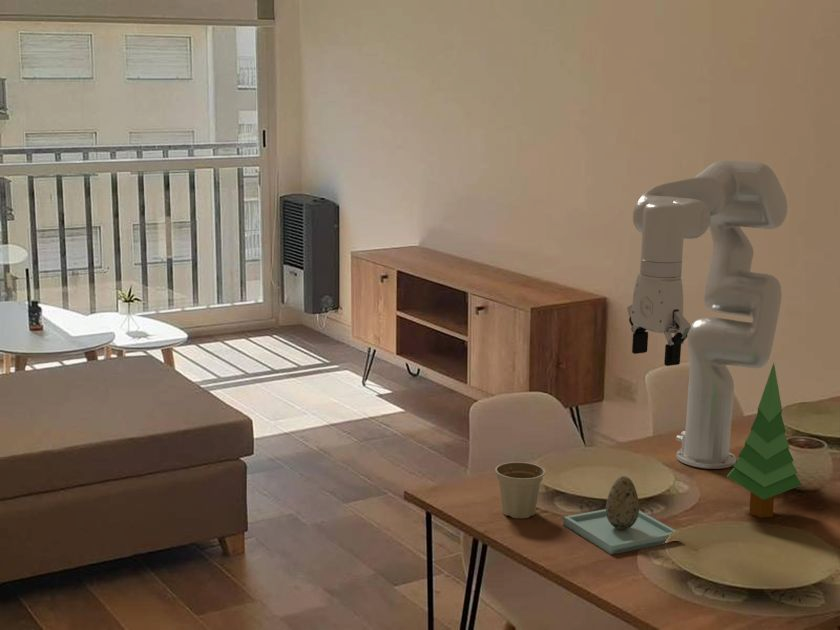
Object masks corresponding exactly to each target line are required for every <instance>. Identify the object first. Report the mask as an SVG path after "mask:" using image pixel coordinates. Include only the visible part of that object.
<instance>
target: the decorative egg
mask: <svg viewBox="0 0 840 630" xmlns="http://www.w3.org/2000/svg"><path fill="white" fill-rule="evenodd" d="M605 509H606V515H607V519H608V521H609V522H610V524H611V525H612V526H613V527H615V528H617V529H621V530H624V529H628V528H630V527H631V526H632V525H633V524H634V523H635V522H636V520H637V518H638V514H639V510H640V503H639V497H638V492H637V490H636V487H635V485H634V482H633V481H632V480H631V478H630V477H628V476H625V475H621V476H620V477H618V478H617V479H616V480H615V481H614V483H613V484H612V486H611V487H610V491H609V493H608V495H607V498H606V504H605Z"/></svg>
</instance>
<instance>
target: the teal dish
mask: <svg viewBox="0 0 840 630" xmlns="http://www.w3.org/2000/svg"><path fill="white" fill-rule="evenodd" d="M562 525H563V526H564V527H566V528H568V529H569V530H571V531H572V532H574V533H576V534H577V535H579V536H581V537H582V538H584V539H585V540H587V541H589V542H590V543H591V544H593V545H595V546H597V547H598V548H600V550H601V549H602V550H603V551H604V552H606V553H608V554H609V555H610V556H611V555H617V554H621V553H626V552H631V551H635V550H641V549H645V548H650V547H656V545H657V546H661V545H660V544H662V545H664V544H663V543H665V541H666V539H667V538H668V537H669V535H670V534H671V533H672V532H675V531H677V530H676V529H674V528H673V527H670V526H668V525H667V524H665V523H663V522H661V521H659V520H658V519H655V518H654V517H652V516H651V515H648V514H647V513H645V512H643V511H641V510H640V509H639V514H638V518H637V520H636V522H635V523H634V524H633V525H632V526H631V527H630V528H628V529H624V530H621V529H617V528H615V527H613V526H612V525H611V524H610V522H609V521H608V519H607V515H606V508H604V509H599V510H593V511H589V512H582V513H577V514H572V515H567V516H563V522H562Z"/></svg>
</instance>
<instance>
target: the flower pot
mask: <svg viewBox="0 0 840 630" xmlns="http://www.w3.org/2000/svg"><path fill="white" fill-rule="evenodd" d="M494 471H495V473H496V474H497V480H498V482H499V491H500V498H501V507H502V508H501V509H502V513H503V514H504V516H506V517H507V516H510V517H511V518H513V519H529V518H530V517H531V516H534V515H536V512H537V503H538V499H539V492H540V487H541V483H542V481H543V477H544V476H545V474H546V469H545V468H544V467H542V466H540V465H538V464H535V463H531V462H525V461H524V462H522V461H511V462H509V461H508V462H505V463H501V464H498V465H497V466H496V467H495V469H494Z"/></svg>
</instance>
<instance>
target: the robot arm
mask: <svg viewBox="0 0 840 630" xmlns="http://www.w3.org/2000/svg"><path fill="white" fill-rule="evenodd" d="M784 191H785V190H783V187H782V185H781V183H780V180H779V178H778V177H777V175H776V173H775V172H774V170H773V169H772V168H771V167H770V166H768V165H767V164H765V163H762V162H754V161H740V160H739V161H738V160H737V161H735V160H720V161H719V160H718V161H715V162H714V163H712V164H709V166H707V167H706V168H704V169H703V170H702V171H700V172H699V173H698V174H697V175H695V176H694V177H689V178H685V179H680V180H676V181H672V182H668V183H667V182H666V183H662V184H660V185H655V186H653V187H651V188H650V189H648V190H647V191H645V192H644V193H643V194H642V195H641V196H640V197H639V198H638V200H637V201H636V203H635V205H634V208H633V211H632V222H633V225H634V227H635V229H636V230H637V231H638V232H639V233H641V234H642V235H641V248H640V249H641V250H640V266H639V267H640V269H639V273H638V274H637V277H636V280H635V284H634V289H633V295H632V302H631V303H632V304H631V305H628V306H627V313H628V317H629V318H628V322H629V324H630V326H631V328H630V331H631V333H632V345H631V346H632V347H631V353H632V354H634V355H638V354H644V353H647V352H648V346H649V344H648V343H649V342H648V341H649V331H650V332H653V333H655V334H664V336H665V340H666V342H667V344H665V346H664V347H665V348H664V361H663V363H664V366H666V367H670V366H671V367H673V366H677V365H680V364H681V353H682V351H681V349H682V345H683V344H684V343H685V340H686V339H687V351H688V364H689V365H688V366H689V375H688V389H687V403H686V419H685V430H683V431H681V432H680V434H677V435H676V437H675V441H677V442H679V443H681V448H679V449H678V450H677V451H676V454H675V455H676V456H675V457H676V459H677V460H678V461H679V462H681V463H682V464H685V465H687V466H690V467H694V468H700V469H708V470H718V469H720V470H721V469H727V468H730V467H733V466H734V464H735V463H736V462H737V460H736V459H737V458H736V456H735V454H734V453H732V452H730V443H731V442H730V441H731V430H732V428H731V427H732V417H733V406H734V405H733V404H734V392H735V383H734V379H733V376H732V374H731V372H730V370H729V368H728V367H727V365H728V366H735V367H741V368H746V369H747V368H748V369H761V368H763V367H765V366H766V365H767V364H768V362H769V360H770V358H771V353H772V350H773V345H774V340H775V335H776V330H777V325H778V321H779V314H780V310H781V303H782V286H781V283H780V281H779V280H778V278H776V276H774V275H772V274H768V273H763V272H762V273H761V272H752V271H751V268H752V265H753V264H752V263H753V258H754V247H753V246H752V243H751V241H750V240H749V237H748V236H747V235H746V233H745V232H744V231H743V229H742V228H750V229H751V228H752V229H753V228H754V229H763V230H775V229H777V228H779V227H780V226H782V225H783V223H784V221H785V220H786V218H787V213H788V201H787V196H786V194H785V192H784ZM741 227H742V228H741ZM708 229H709V230H710V235H711V238H712V254H711V259H710V265H709V267H708V268H709V269H708V274H707V278H706V284H705V287H704V295H703V296H704V297H703V301H704V304H705V307H706V308H707V309H708V310H710V311H712V312H714V313H715V312H716V313H720V314H725V315H732V316H739V317H747V318H751V319H752V322H749V321H741V320H735V319H730V318H729V319H728V318H721V317H715V316H714V317H709V316H708V317H699V318H697V319H695V320H694V321H693V322H692V323H691V324H690V322H689V321H688V320H687V319H686V318H685V316H684V291H683V290H684V289H683V280H682V270H683V269H682V267H683V252H684V239H686V240H693V239H698V238H700V237H701V236H703V235H704V234H705V233H706V232H707V230H708ZM647 330H648V331H647ZM672 334H673V335H674V336H673V335H672Z"/></svg>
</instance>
